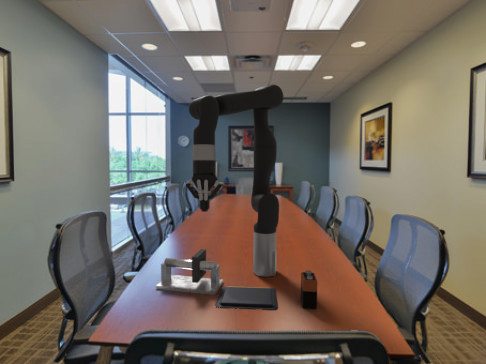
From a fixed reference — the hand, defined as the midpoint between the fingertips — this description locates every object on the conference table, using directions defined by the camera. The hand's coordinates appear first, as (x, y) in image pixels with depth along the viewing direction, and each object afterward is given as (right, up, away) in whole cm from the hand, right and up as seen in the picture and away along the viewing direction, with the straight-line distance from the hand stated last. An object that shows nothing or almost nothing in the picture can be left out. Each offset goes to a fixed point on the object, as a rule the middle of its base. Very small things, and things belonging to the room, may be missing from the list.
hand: (204, 211), depth 92 cm
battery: (+34, -30, -3) cm, 45 cm away
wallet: (+14, -30, +1) cm, 33 cm away
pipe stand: (-7, -28, +9) cm, 31 cm away
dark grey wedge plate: (-3, -25, +8) cm, 26 cm away
